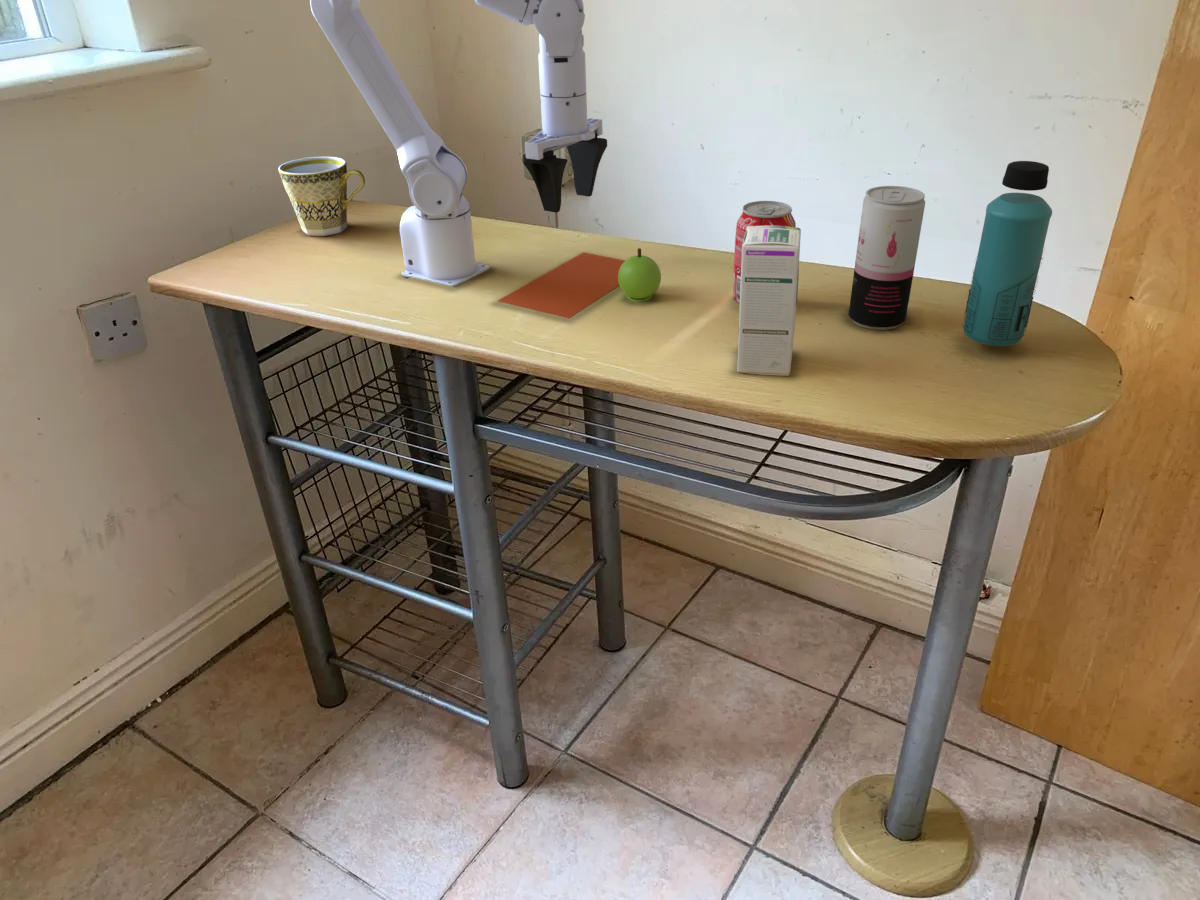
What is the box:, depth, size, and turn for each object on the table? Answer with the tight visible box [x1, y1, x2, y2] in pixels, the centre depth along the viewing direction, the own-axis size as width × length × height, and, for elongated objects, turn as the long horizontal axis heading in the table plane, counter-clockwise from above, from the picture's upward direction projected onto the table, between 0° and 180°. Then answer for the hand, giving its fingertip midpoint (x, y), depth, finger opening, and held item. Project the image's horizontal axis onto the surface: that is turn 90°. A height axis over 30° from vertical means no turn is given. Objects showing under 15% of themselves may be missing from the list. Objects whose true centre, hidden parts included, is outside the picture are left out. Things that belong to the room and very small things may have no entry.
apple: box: [618, 247, 662, 302], centre depth 112 cm, size 5×5×7 cm
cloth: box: [497, 251, 626, 319], centre depth 118 cm, size 11×20×1 cm, turn 148°
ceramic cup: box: [277, 156, 366, 237], centre depth 138 cm, size 13×10×10 cm
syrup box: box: [736, 225, 802, 377], centre depth 94 cm, size 6×6×14 cm
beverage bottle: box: [962, 160, 1053, 347], centre depth 94 cm, size 6×7×20 cm
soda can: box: [732, 200, 797, 305], centre depth 108 cm, size 7×7×12 cm
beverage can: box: [848, 185, 926, 331], centre depth 102 cm, size 6×7×15 cm
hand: (568, 202), depth 117 cm, fingers open, 7 cm apart
